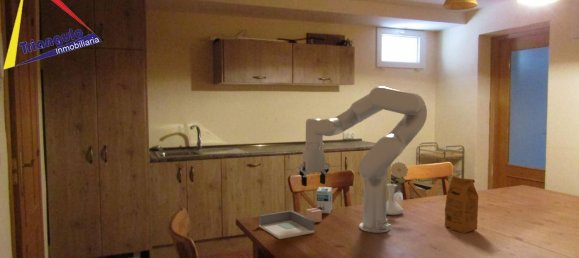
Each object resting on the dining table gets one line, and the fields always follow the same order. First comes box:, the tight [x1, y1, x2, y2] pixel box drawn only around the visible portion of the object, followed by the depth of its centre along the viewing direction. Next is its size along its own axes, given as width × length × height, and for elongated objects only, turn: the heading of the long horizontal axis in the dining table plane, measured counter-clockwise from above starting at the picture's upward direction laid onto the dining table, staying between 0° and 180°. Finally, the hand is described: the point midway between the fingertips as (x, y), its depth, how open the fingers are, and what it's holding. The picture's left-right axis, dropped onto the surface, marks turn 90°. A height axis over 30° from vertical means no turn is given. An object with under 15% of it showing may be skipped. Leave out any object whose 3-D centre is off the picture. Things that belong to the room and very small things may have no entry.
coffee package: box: [444, 174, 479, 234], centre depth 168 cm, size 10×12×22 cm
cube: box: [305, 207, 323, 224], centre depth 180 cm, size 5×5×5 cm
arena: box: [258, 209, 315, 240], centre depth 168 cm, size 18×16×5 cm
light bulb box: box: [316, 186, 333, 214], centre depth 198 cm, size 11×7×11 cm, turn 168°
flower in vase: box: [386, 161, 409, 216], centre depth 191 cm, size 13×11×25 cm
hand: (313, 184), depth 180 cm, fingers open, 9 cm apart
